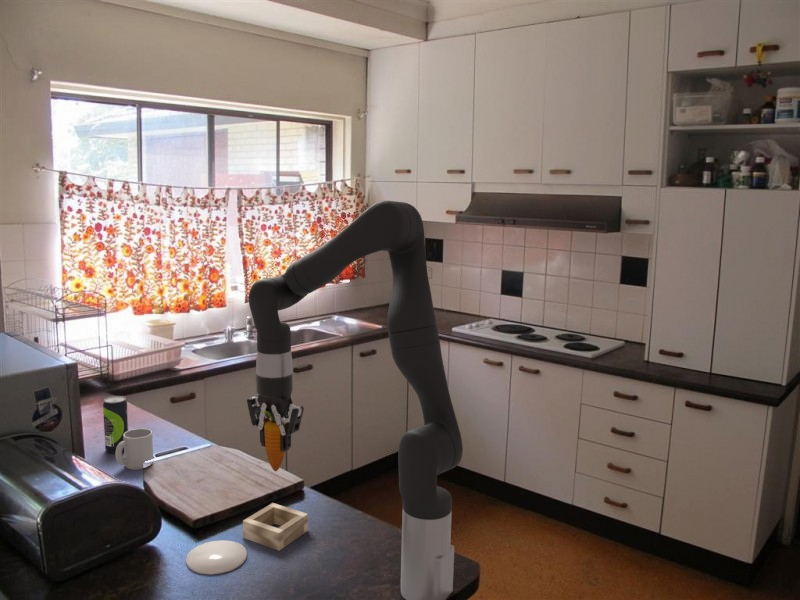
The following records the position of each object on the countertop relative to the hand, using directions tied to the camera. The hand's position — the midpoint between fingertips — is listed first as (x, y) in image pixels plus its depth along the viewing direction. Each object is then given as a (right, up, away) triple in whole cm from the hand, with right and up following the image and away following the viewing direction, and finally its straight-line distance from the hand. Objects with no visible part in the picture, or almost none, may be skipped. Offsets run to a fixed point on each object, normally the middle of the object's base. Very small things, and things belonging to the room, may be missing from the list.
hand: (275, 447), depth 151 cm
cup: (-44, -13, +37) cm, 59 cm away
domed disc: (-11, -21, -6) cm, 25 cm away
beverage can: (-53, -11, +48) cm, 72 cm away
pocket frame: (-1, -20, +4) cm, 20 cm away
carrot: (0, -5, +1) cm, 6 cm away
